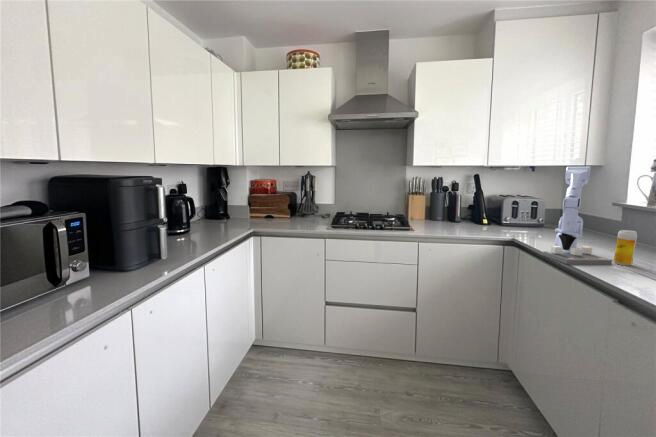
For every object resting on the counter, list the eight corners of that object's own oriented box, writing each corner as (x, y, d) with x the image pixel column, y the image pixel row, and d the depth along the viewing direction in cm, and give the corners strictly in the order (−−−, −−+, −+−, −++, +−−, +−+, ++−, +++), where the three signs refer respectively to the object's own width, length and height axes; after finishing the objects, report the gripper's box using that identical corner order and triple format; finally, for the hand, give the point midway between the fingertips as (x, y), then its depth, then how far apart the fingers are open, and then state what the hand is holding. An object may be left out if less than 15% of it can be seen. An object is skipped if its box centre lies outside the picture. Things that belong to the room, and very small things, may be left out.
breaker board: (542, 255, 151) (543, 251, 150) (583, 255, 151) (583, 251, 151) (566, 264, 136) (567, 259, 136) (611, 264, 136) (612, 260, 136)
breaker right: (579, 252, 147) (580, 246, 147) (587, 252, 147) (588, 246, 147) (583, 253, 145) (584, 247, 144) (591, 253, 145) (592, 247, 144)
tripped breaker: (570, 253, 144) (570, 247, 144) (577, 253, 144) (578, 247, 144) (574, 255, 142) (575, 248, 141) (582, 255, 142) (582, 248, 141)
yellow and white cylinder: (613, 260, 141) (618, 229, 138) (631, 263, 137) (637, 230, 135) (613, 264, 137) (618, 231, 134) (632, 267, 133) (638, 233, 130)
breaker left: (550, 252, 147) (551, 246, 147) (558, 252, 147) (558, 246, 147) (554, 253, 145) (555, 247, 144) (562, 253, 145) (562, 247, 144)
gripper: (550, 219, 154) (547, 246, 156) (573, 224, 140) (569, 253, 142) (564, 219, 154) (560, 246, 156) (588, 224, 140) (584, 253, 142)
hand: (565, 249), depth 149 cm, fingers closed
